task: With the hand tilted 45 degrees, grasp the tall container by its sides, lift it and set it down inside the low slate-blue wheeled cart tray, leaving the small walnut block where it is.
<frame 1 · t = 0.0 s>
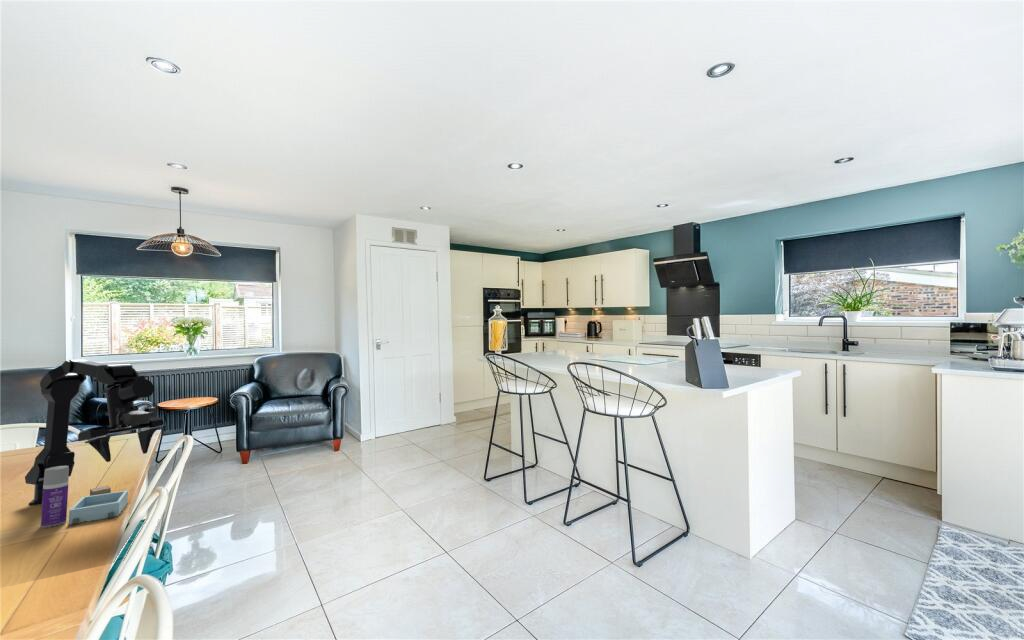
hand: (127, 457, 122), 15 cm above the table, tool pointing down, fingers open, 9 cm apart
container: (53, 524, 112), on the table
walnut block: (99, 501, 129), on the table
cart: (99, 513, 120), on the table
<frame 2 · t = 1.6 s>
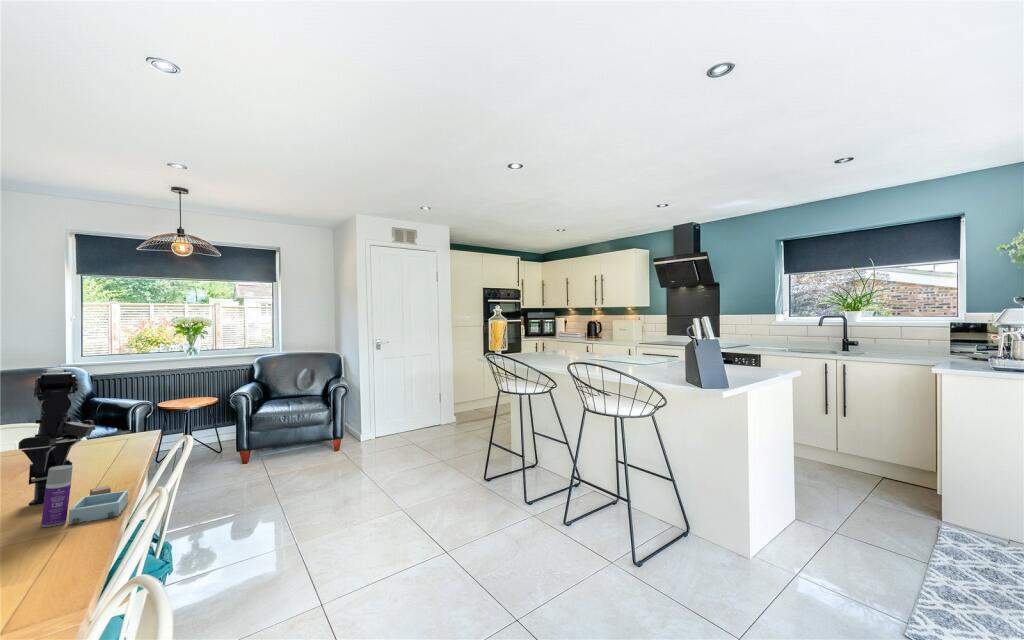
hand: (51, 469, 121), 13 cm above the table, tool pointing down, fingers open, 9 cm apart
nothing on the table moved.
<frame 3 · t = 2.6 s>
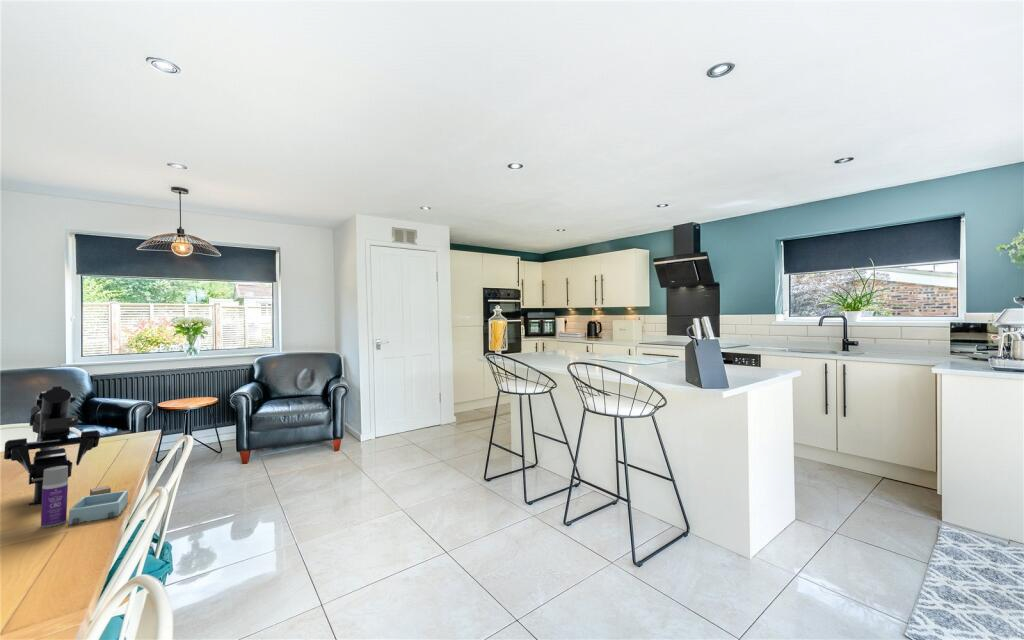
hand: (54, 468, 118), 13 cm above the table, tool tilted 45°, fingers open, 9 cm apart
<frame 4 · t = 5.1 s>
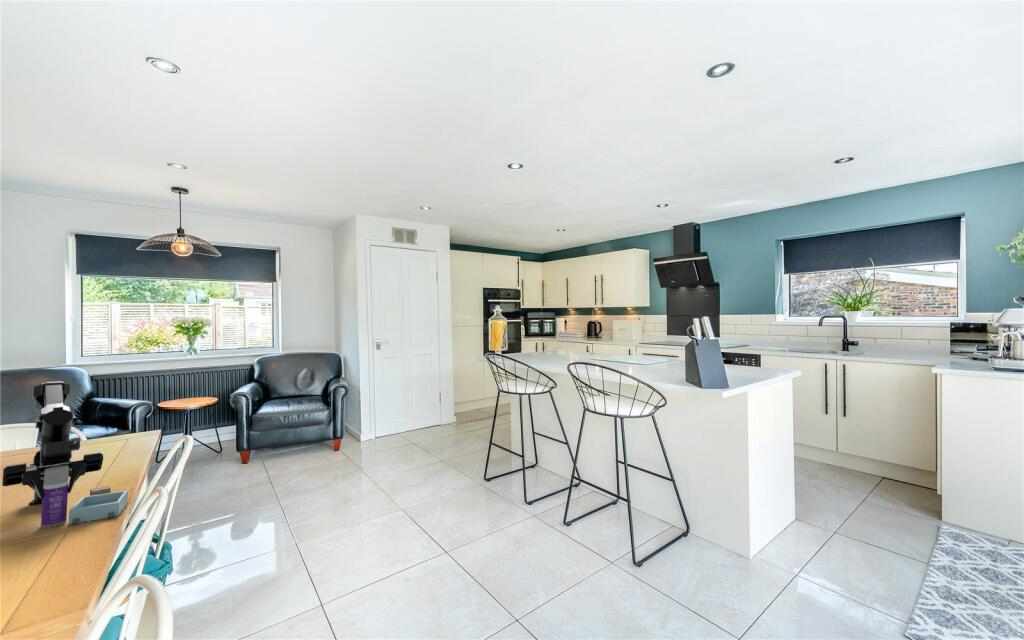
hand: (55, 494, 112), 8 cm above the table, tool tilted 45°, fingers closed on container, 5 cm apart
container: (53, 524, 112), on the table, touching gripper
everything else where it was.
when the fingers open (10 cm above the table, at t = 7.8 s): container stays where it is, resting on cart.
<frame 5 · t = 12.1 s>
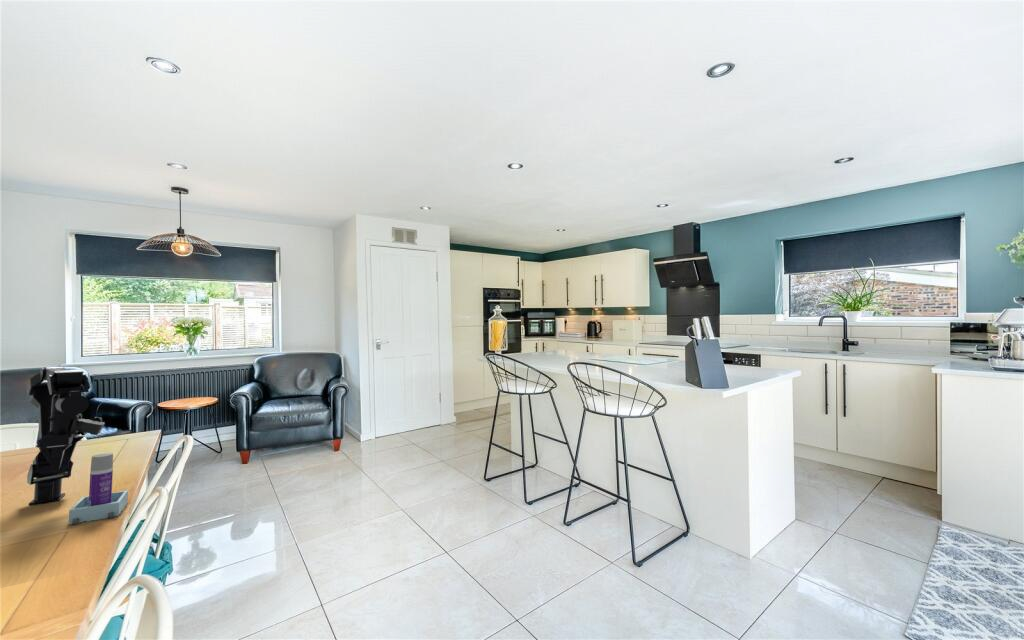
hand: (62, 465, 123), 13 cm above the table, tool pointing down, fingers open, 9 cm apart
container: (99, 508, 120), point 1 cm above the table, touching cart
everything else where it was.
at the end: container inside the target area on the cart (0.2 cm from its centre), point 1.3 cm above the cart's base; container tilted 0°; the gripper is holding nothing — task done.
